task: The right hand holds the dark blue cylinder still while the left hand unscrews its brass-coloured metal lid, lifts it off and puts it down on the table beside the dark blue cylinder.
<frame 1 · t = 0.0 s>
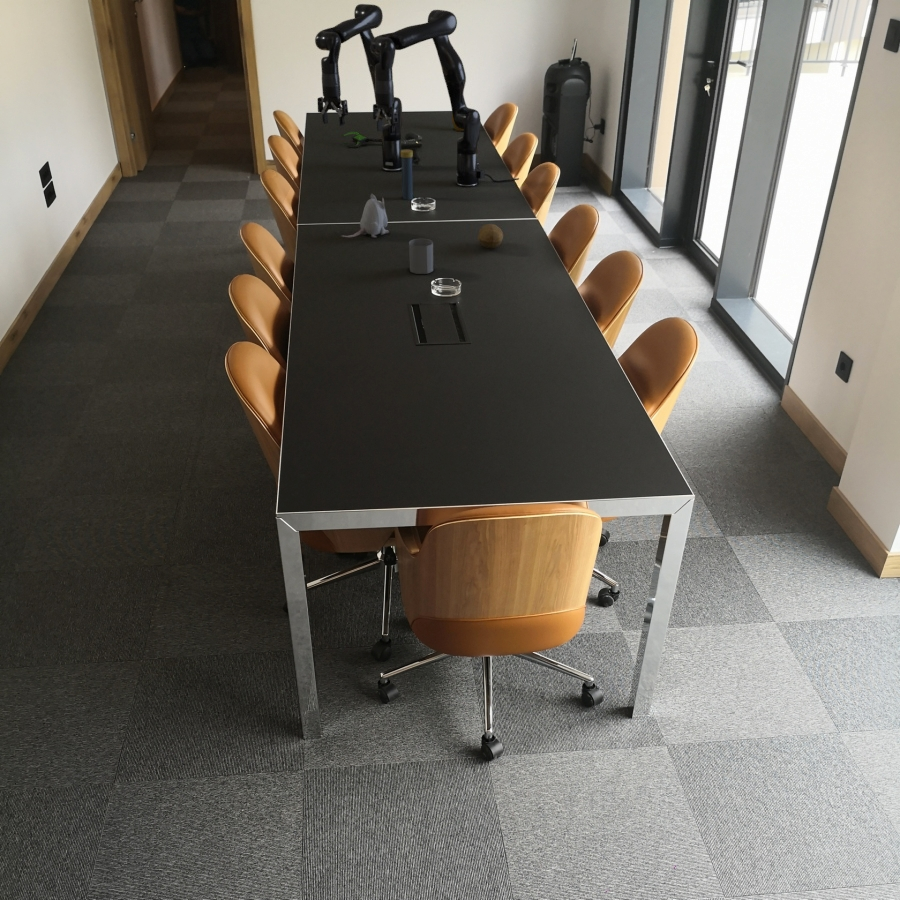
left hand: (333, 124, 373), 29 cm above the table, tool pointing down, fingers open, 8 cm apart
right hand: (386, 132, 360), 29 cm above the table, tool pointing down, fingers open, 8 cm apart
apple: (461, 130, 491), on the table
lid: (406, 151, 370), point 20 cm above the table, screwed on, not yet turned
cup: (421, 270, 308), on the table
toy: (364, 238, 337), on the table
potato: (490, 247, 328), on the table
dark blue cylinder: (407, 198, 381), on the table
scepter: (371, 145, 462), on the table
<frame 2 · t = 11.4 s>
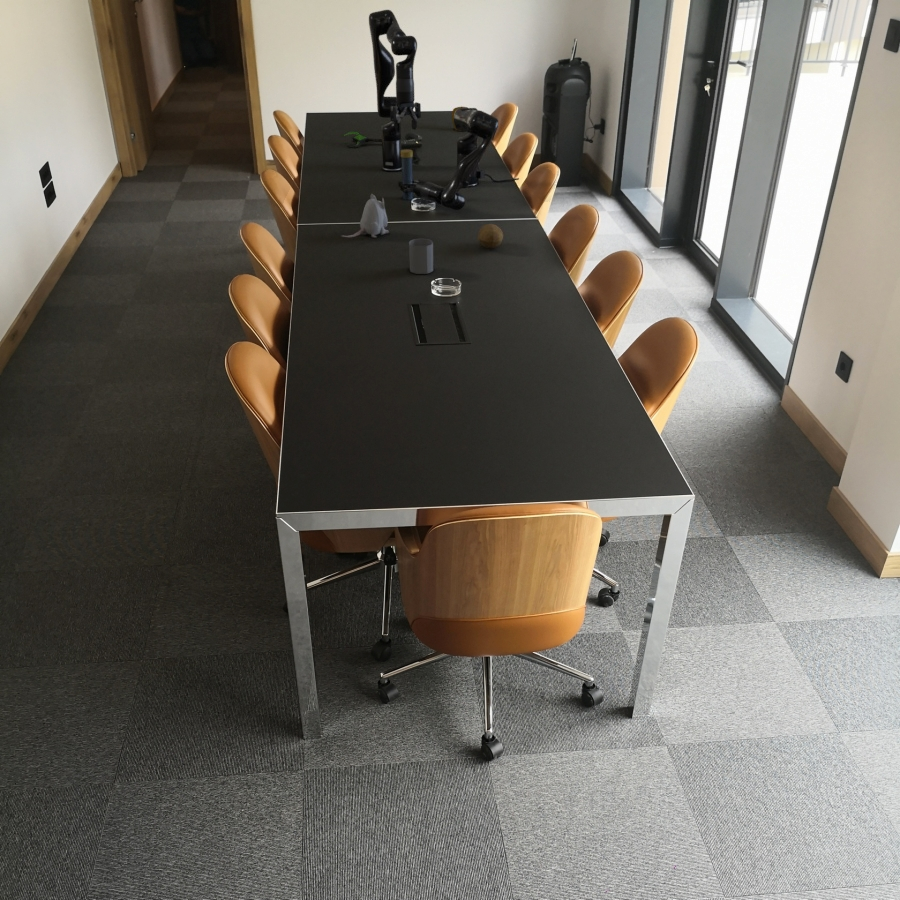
left hand: (406, 130, 366), 29 cm above the table, tool pointing down, fingers open, 7 cm apart
right hand: (403, 182, 380), 6 cm above the table, tool horizontal, fingers closed on dark blue cylinder, 4 cm apart
dark blue cylinder: (407, 198, 381), on the table, touching right hand
everything else where it was.
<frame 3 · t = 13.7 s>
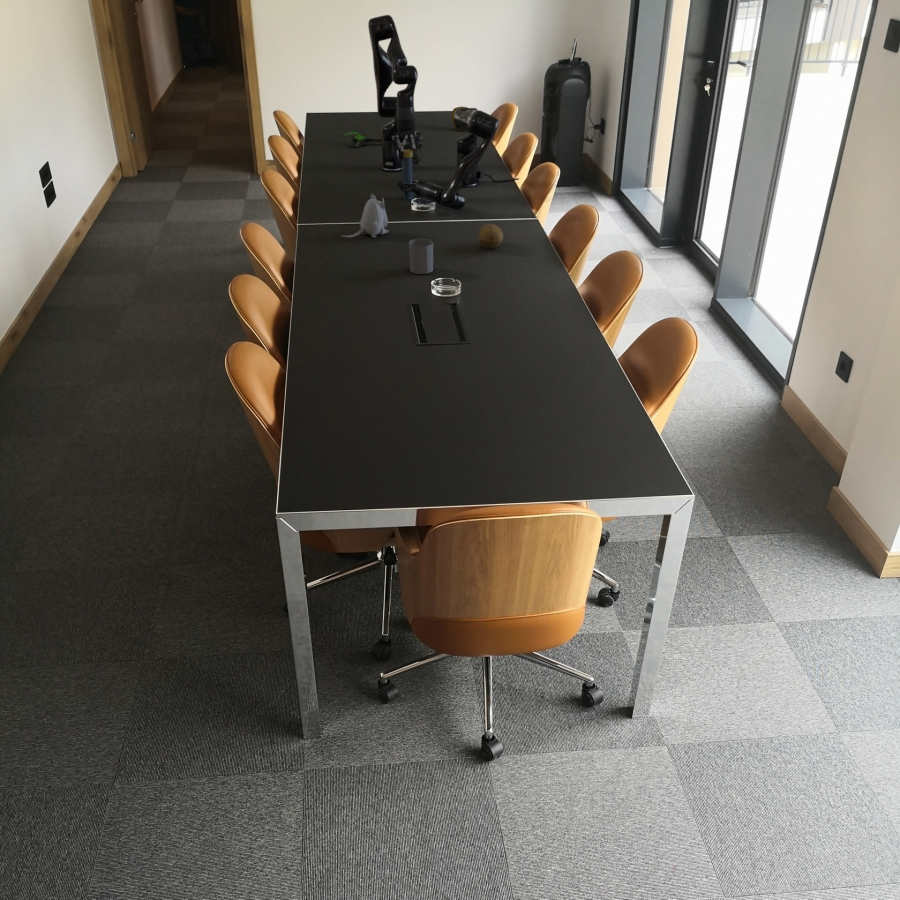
left hand: (406, 158, 372), 17 cm above the table, tool pointing down, fingers closed on lid, 5 cm apart
right hand: (403, 182, 380), 6 cm above the table, tool horizontal, fingers closed on dark blue cylinder, 4 cm apart
lid: (406, 151, 370), point 20 cm above the table, screwed on, not yet turned, touching left hand
dark blue cylinder: (407, 198, 381), on the table, touching right hand
everything else where it was.
when the left hand's fingers open (17 cm above the table, at t = 14.9 s): lid stays where it is, point 20 cm above the table.
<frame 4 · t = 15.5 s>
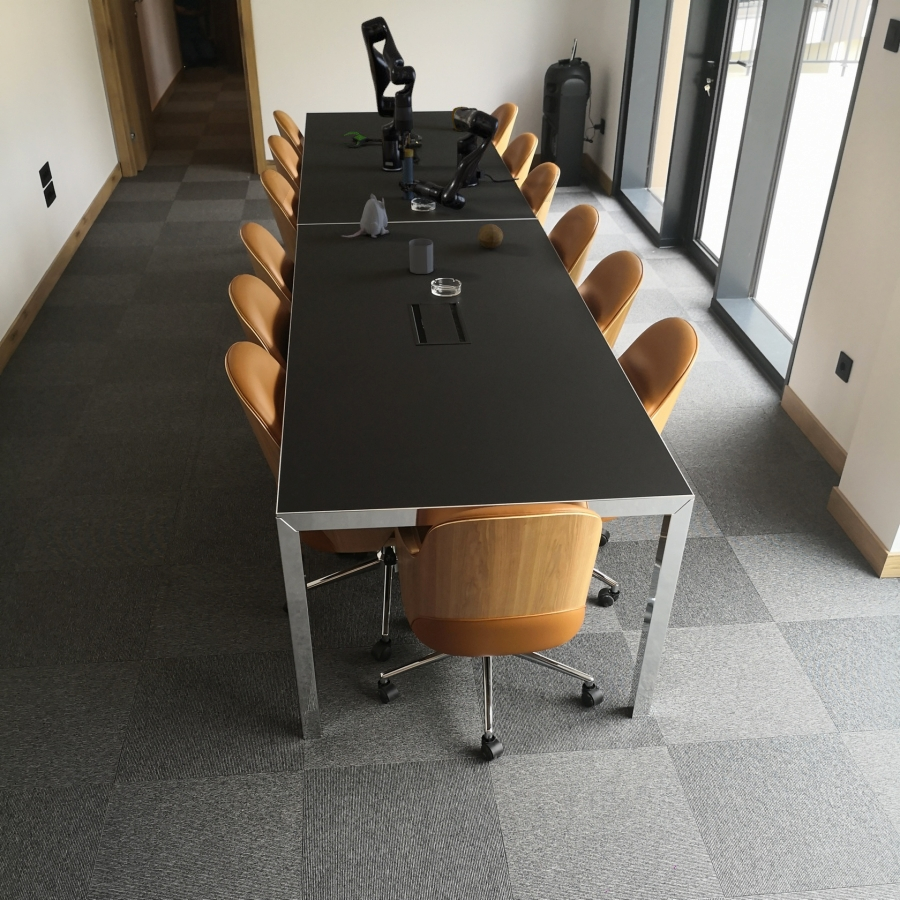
left hand: (404, 157, 372), 18 cm above the table, tool pointing down, fingers open, 7 cm apart
right hand: (404, 182, 380), 6 cm above the table, tool horizontal, fingers closed on dark blue cylinder, 4 cm apart
lid: (407, 151, 370), point 20 cm above the table, turned 66° so far, risen 0.2 cm, still on its thread
dark blue cylinder: (408, 198, 381), on the table, touching right hand
everything else where it was.
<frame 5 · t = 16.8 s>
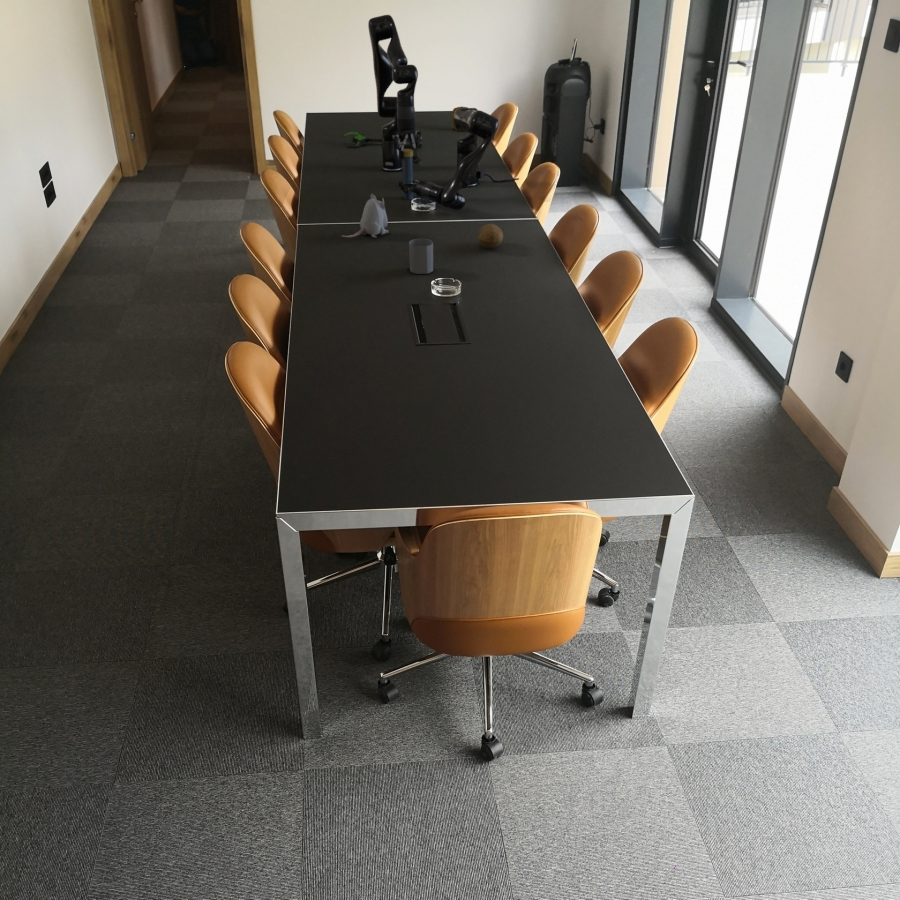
left hand: (407, 157, 372), 17 cm above the table, tool pointing down, fingers closed on lid, 5 cm apart
right hand: (404, 182, 380), 6 cm above the table, tool horizontal, fingers closed on dark blue cylinder, 4 cm apart
lid: (407, 151, 370), point 20 cm above the table, turned 66° so far, risen 0.2 cm, still on its thread, touching left hand
dark blue cylinder: (408, 198, 381), on the table, touching right hand
everything else where it was.
when the left hand's fingers open (0 cm above the table, at t = 23.7 s): lid drops 1 cm, point 2 cm above the table.
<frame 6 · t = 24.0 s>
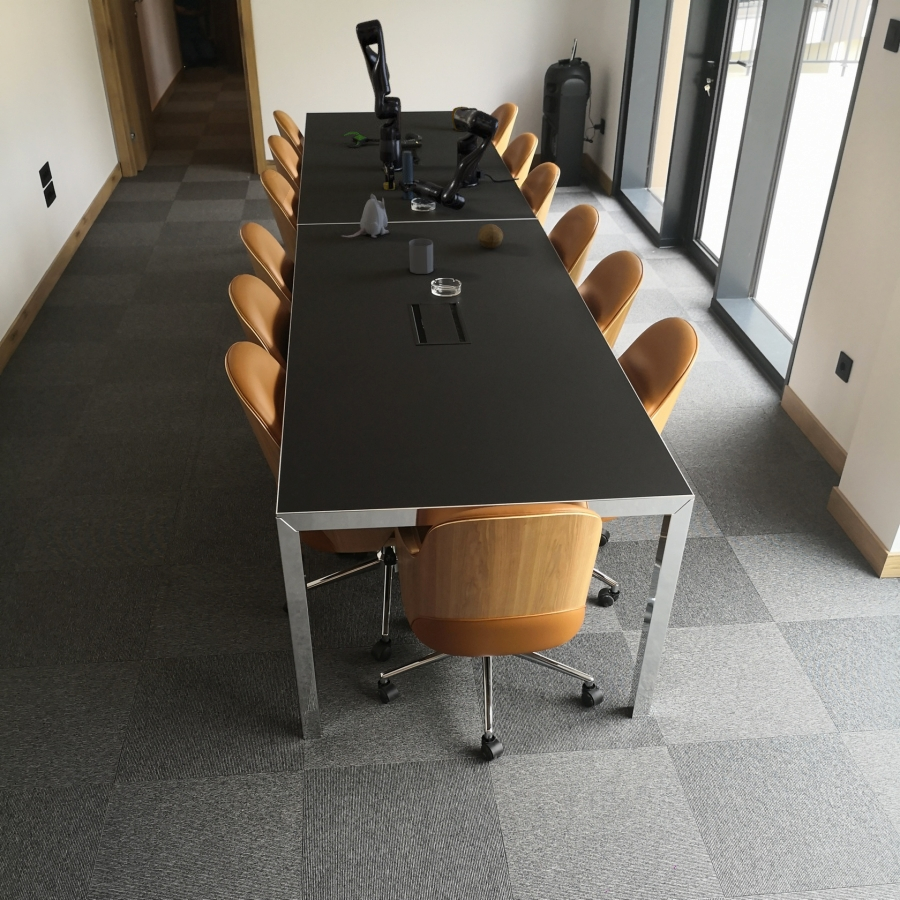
left hand: (389, 186, 394), 1 cm above the table, tool pointing down, fingers open, 7 cm apart
right hand: (404, 182, 380), 6 cm above the table, tool horizontal, fingers closed on dark blue cylinder, 4 cm apart
lid: (389, 184, 393), point 2 cm above the table, off its thread
dark blue cylinder: (408, 198, 381), on the table, touching right hand
everything else where it was.
when the right hand's fingers open (6 cm above the table, at t = 24.8 s): dark blue cylinder stays where it is, on the table.
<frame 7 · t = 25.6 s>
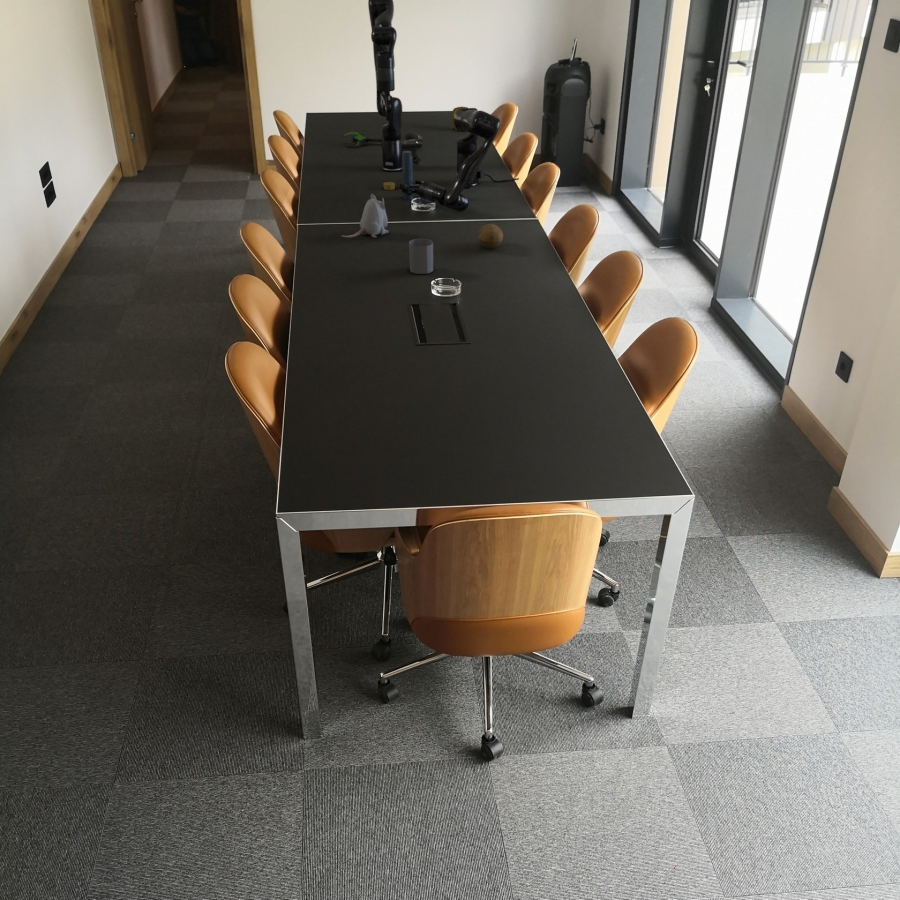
left hand: (387, 118, 378), 30 cm above the table, tool pointing down, fingers open, 8 cm apart
right hand: (408, 184, 378), 6 cm above the table, tool horizontal, fingers open, 8 cm apart
dark blue cylinder: (408, 198, 381), on the table
everything else where it was.
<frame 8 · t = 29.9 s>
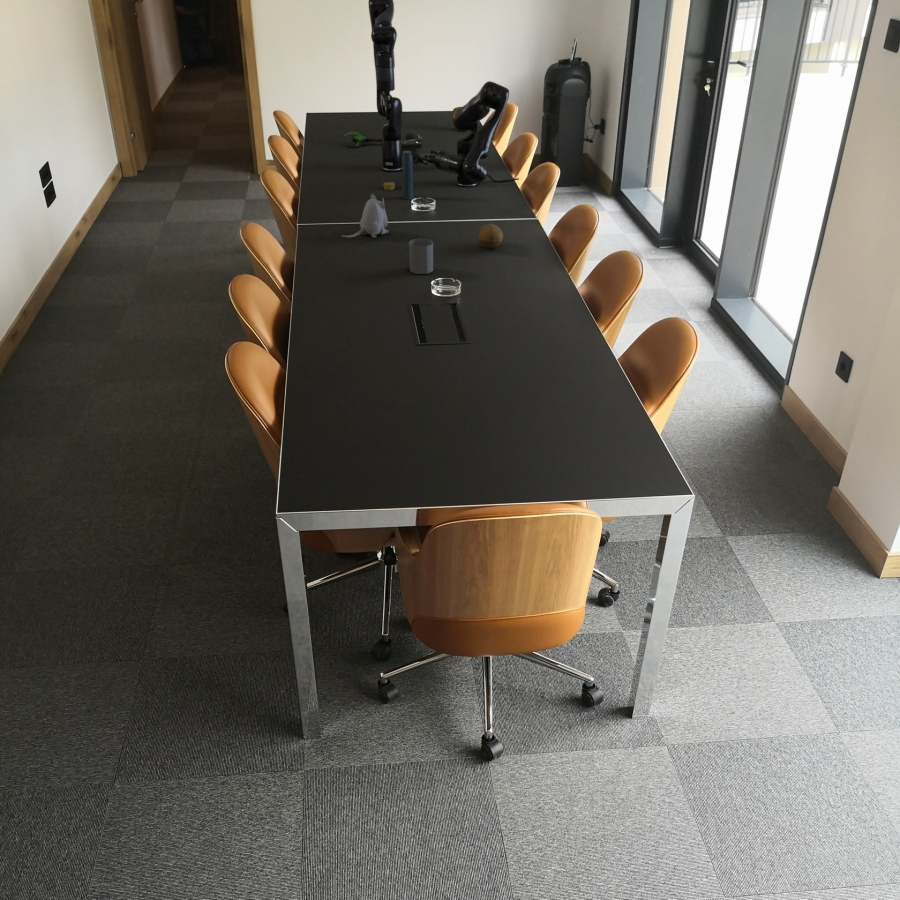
left hand: (387, 118, 378), 30 cm above the table, tool pointing down, fingers open, 8 cm apart
right hand: (423, 154, 363), 21 cm above the table, tool horizontal, fingers open, 8 cm apart
nothing on the table moved.
at the end: lid came off its thread; lid point 1.8 cm above the table; the left hand is holding nothing; the right hand is holding nothing; dark blue cylinder tilted 0°; dark blue cylinder moved 0.3 cm from its start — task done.
